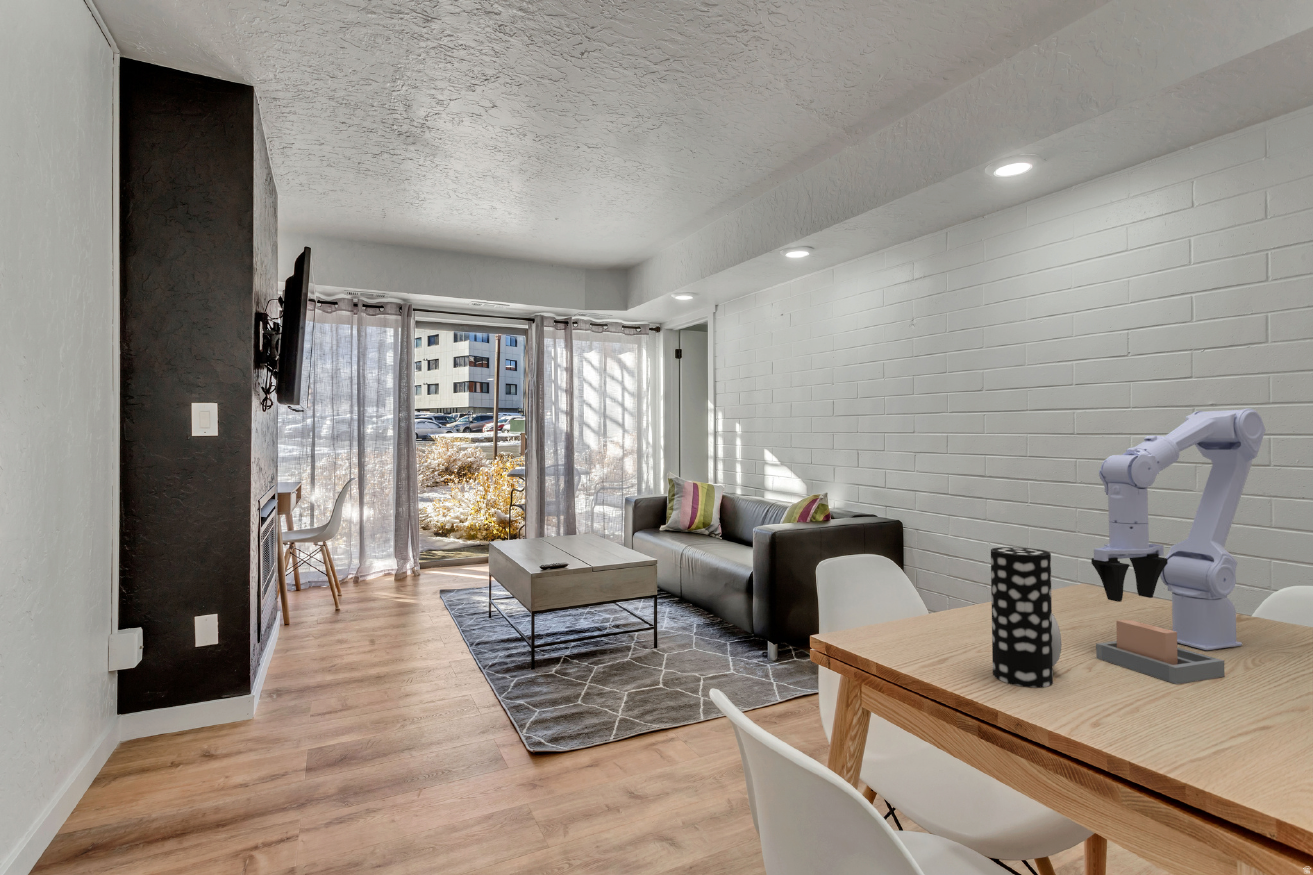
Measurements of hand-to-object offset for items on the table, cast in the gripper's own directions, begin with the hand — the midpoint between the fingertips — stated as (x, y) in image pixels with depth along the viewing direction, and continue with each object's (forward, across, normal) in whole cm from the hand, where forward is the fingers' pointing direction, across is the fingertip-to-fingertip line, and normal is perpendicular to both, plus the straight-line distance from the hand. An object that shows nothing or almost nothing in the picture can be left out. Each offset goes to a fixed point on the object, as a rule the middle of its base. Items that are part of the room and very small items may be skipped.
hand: (1130, 598), depth 116 cm
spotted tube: (+9, +29, +4) cm, 31 cm away
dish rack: (+9, +4, +7) cm, 13 cm away
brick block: (+9, +7, +7) cm, 13 cm away
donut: (+9, +22, +1) cm, 24 cm away
